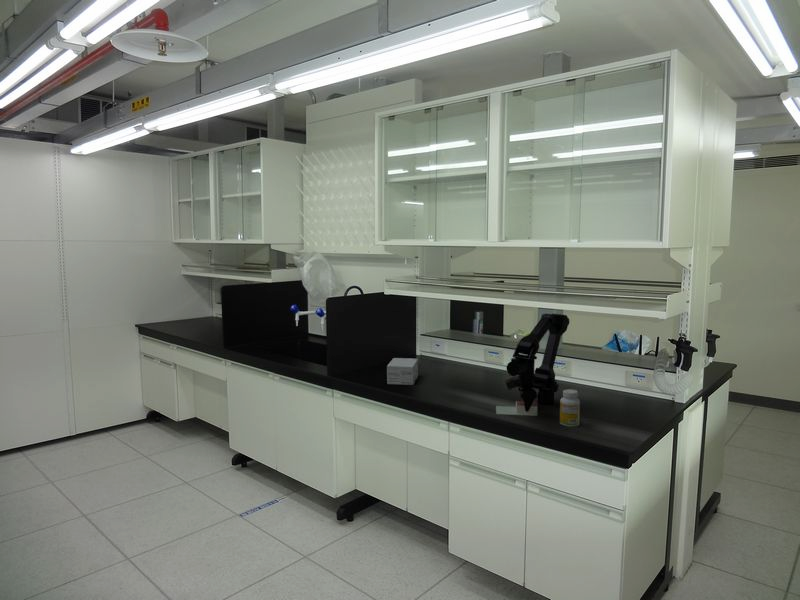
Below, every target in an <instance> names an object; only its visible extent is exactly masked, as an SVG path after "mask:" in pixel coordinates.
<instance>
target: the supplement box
mask: <svg viewBox="0 0 800 600" xmlns="http://www.w3.org/2000/svg"><path fill="white" fill-rule="evenodd" d="M418 377H419V359H418V358H408V357H407V358H403V357H393V358H392V360H390V362H389V363H388V364H387V366H386V378H387V379H386V381H387V382H386V383H387V385H405V386H406V385H408V386H411V385H412V386H414V384H415V382H416V381H417V379H418ZM415 380H416V381H415Z"/></svg>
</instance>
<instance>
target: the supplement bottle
mask: <svg viewBox="0 0 800 600" xmlns="http://www.w3.org/2000/svg"><path fill="white" fill-rule="evenodd" d="M578 397H579V393H578V390H576V389H568V388H567V389H564V390H562V397H561V398H560V400H559V424H560V425H563V426H566V427H577V426H579V425H580V418H581V417H580V416H581V415H580V414H581V400H580V399H579V398H578Z"/></svg>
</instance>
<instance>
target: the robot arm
mask: <svg viewBox="0 0 800 600" xmlns="http://www.w3.org/2000/svg"><path fill="white" fill-rule="evenodd" d="M569 325H570V318H569V317H568V315H567V314H563V313H562V314H561V313H542V314H541V317H540V319H539V321H538V322H537V323H536V325H535V326H534V327H533V329H532V330H531V331H530V332H529V334H528V335H524V336H523V337H522V338H521V339H520V340H519V341H518V343H517V344H516V347H515V349H514V352H513V354H512V357H511V358H510V361H509V362H508V363H507V364H506V371H507V374H509V375H510V376H511V378H507V379H505V381H504V382H505V385H506V388H507V390H508V391H510V390H512V389H515V388H518V391H519V397H520V399H521V400H522V401H523V402H524V405H525V411H526V412H528V411H529V409H530V407H531V405H532V403H533V402H535V399H536V404H537V405H538V406H555V393H557V392H558V391H559V384H558V382H557V380H556V373H555V370H554V366H555V362H556V359H557V356H558V355H557V354H558V350H559V345H560V342H561V337H562V336H563V334H565V332H567V331H568V330H567V329H568V327H569ZM547 332H549V333H548V336H547V337H548V338H547V341H546V345H545V349H544V352H543V353H544V354H543V357H542V362H541V365H540V366H539V367H536V368H535V364H536V363H535V361H536V360H537V359H538V357H537V356H536V354H537V353H538V351H539V349H540V343H541V341H542V339H543V338H544V336H545V335H546V333H547ZM536 390H537V391H536Z"/></svg>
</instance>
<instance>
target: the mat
mask: <svg viewBox="0 0 800 600" xmlns="http://www.w3.org/2000/svg"><path fill="white" fill-rule="evenodd" d="M495 413H496V415H511V416H512V415H513V416H533V417H535V416H537V417H538V413H537V414H532V413H517V412H516V406H504V405H503V406H501V405H496V406H495Z"/></svg>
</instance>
